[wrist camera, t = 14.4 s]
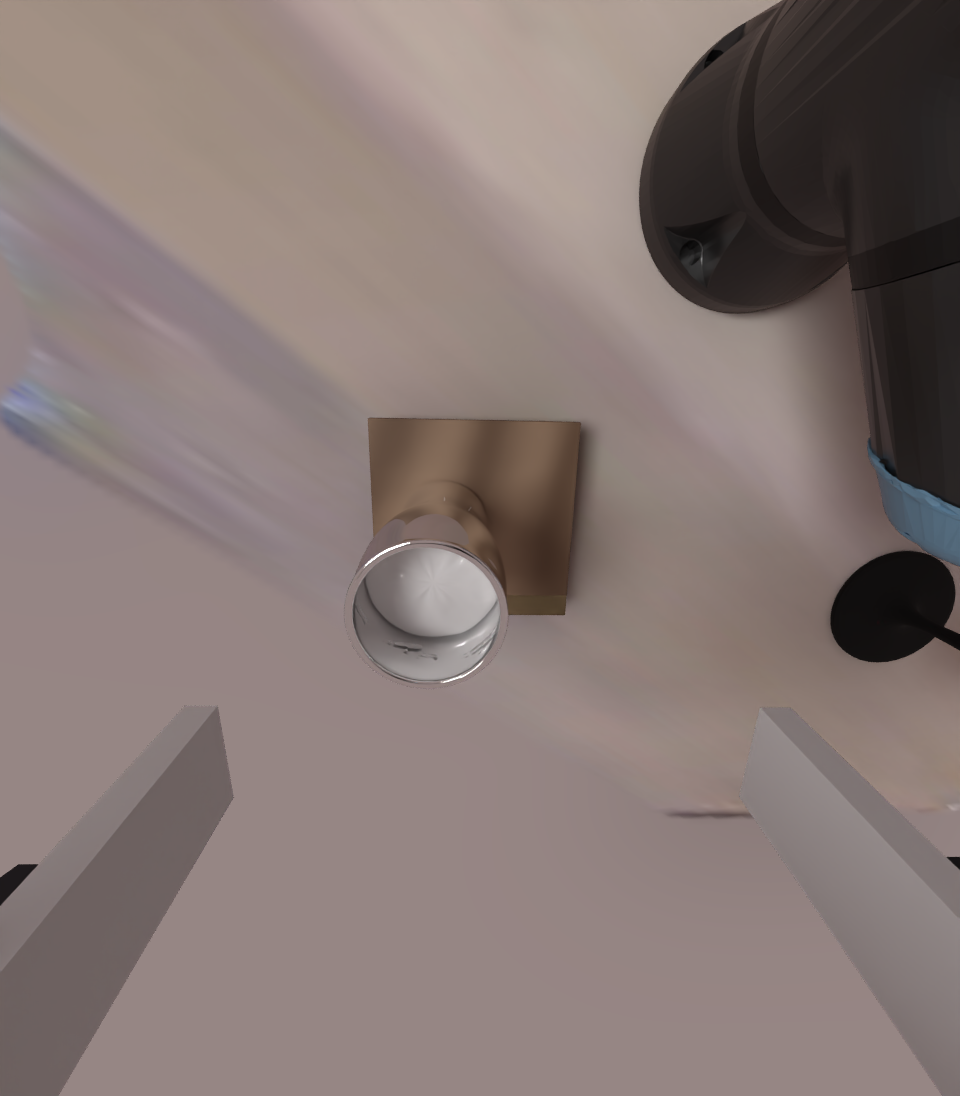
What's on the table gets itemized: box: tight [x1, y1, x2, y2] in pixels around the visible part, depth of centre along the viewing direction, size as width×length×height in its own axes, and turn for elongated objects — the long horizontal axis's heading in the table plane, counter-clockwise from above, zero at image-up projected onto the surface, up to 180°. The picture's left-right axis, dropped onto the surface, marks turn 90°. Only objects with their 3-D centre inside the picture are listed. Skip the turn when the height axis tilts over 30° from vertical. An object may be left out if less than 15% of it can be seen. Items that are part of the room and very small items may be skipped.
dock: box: [368, 418, 581, 615], centre depth 35 cm, size 14×14×4 cm
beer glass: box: [344, 481, 508, 689], centre depth 26 cm, size 7×7×15 cm
